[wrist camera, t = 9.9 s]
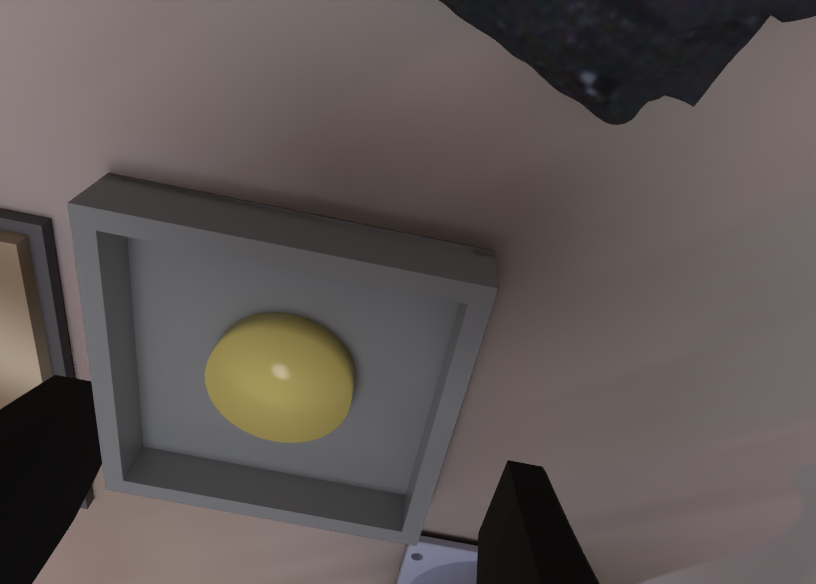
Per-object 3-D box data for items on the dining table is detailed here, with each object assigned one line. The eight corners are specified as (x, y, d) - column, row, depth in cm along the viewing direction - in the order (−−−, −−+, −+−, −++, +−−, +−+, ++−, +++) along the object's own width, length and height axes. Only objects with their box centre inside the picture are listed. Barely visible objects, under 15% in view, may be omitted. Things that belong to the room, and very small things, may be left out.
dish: (419, 499, 25) (416, 546, 23) (132, 445, 25) (105, 489, 23) (494, 251, 19) (498, 288, 17) (107, 172, 18) (67, 202, 16)
